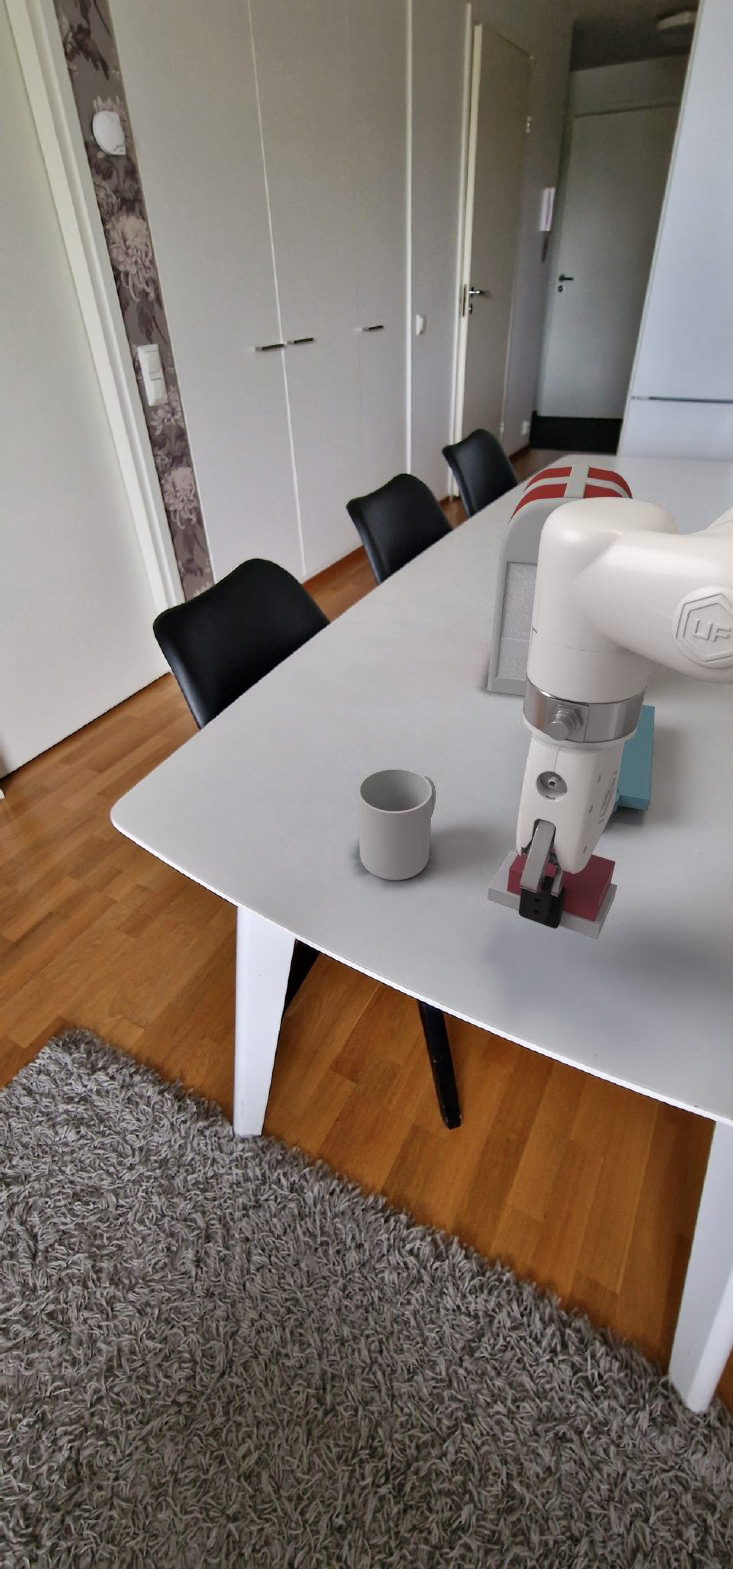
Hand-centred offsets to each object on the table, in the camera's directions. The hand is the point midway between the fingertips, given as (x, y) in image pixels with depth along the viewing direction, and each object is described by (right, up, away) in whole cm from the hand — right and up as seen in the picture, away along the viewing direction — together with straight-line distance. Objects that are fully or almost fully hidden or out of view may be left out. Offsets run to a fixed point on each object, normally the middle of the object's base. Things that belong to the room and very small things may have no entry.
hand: (551, 895), depth 57 cm
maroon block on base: (0, 0, 0) cm, 0 cm away
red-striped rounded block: (+12, +26, +48) cm, 56 cm away
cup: (-11, +2, +17) cm, 20 cm away
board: (+11, +10, +27) cm, 31 cm away
